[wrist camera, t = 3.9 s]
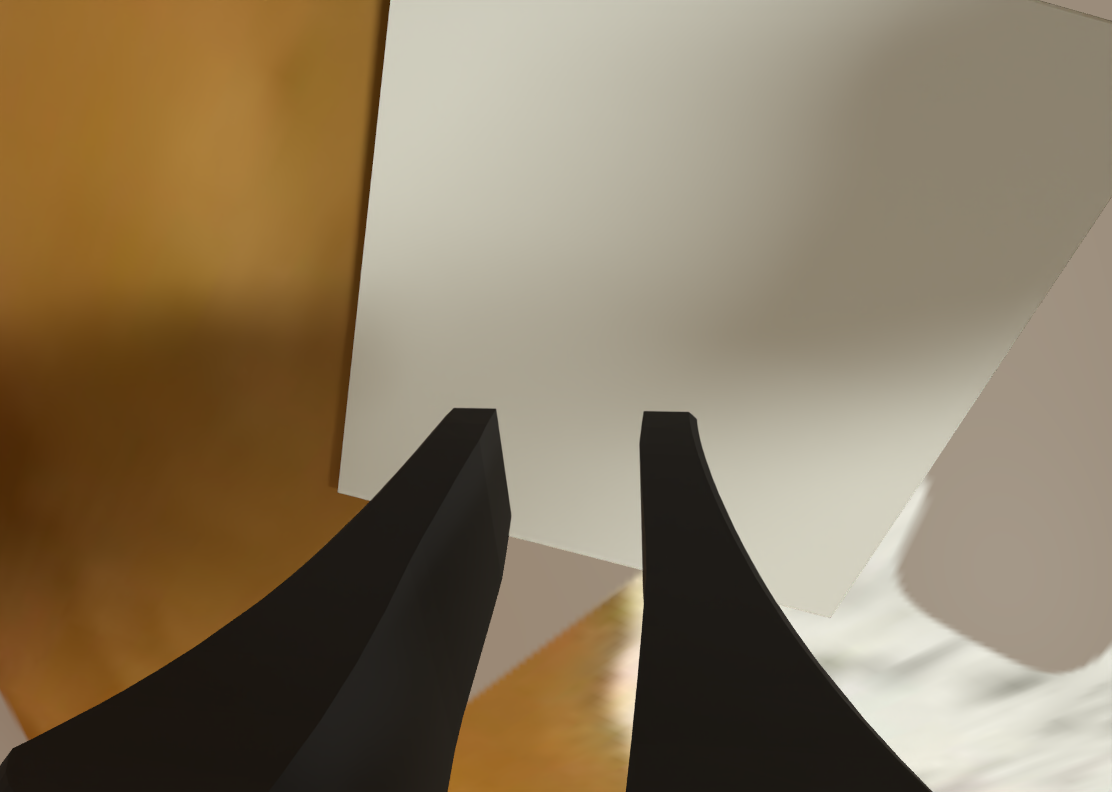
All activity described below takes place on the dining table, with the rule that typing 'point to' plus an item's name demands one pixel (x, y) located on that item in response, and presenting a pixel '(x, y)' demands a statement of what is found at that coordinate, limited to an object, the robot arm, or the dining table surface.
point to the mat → (717, 249)
